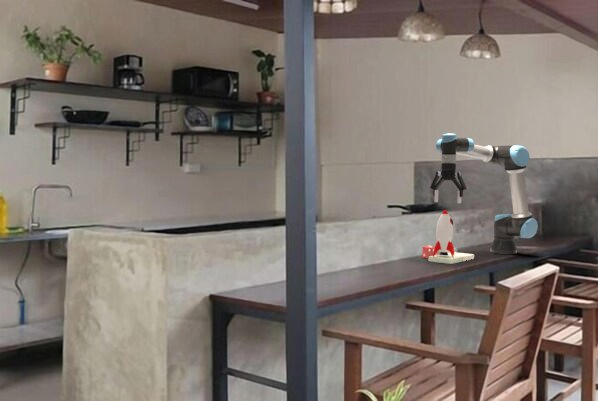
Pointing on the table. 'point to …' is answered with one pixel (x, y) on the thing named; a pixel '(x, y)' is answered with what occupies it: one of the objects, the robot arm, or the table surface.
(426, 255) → the red die
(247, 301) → the table surface
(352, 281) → the table surface
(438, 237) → the rocket
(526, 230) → the robot arm
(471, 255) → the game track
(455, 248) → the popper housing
